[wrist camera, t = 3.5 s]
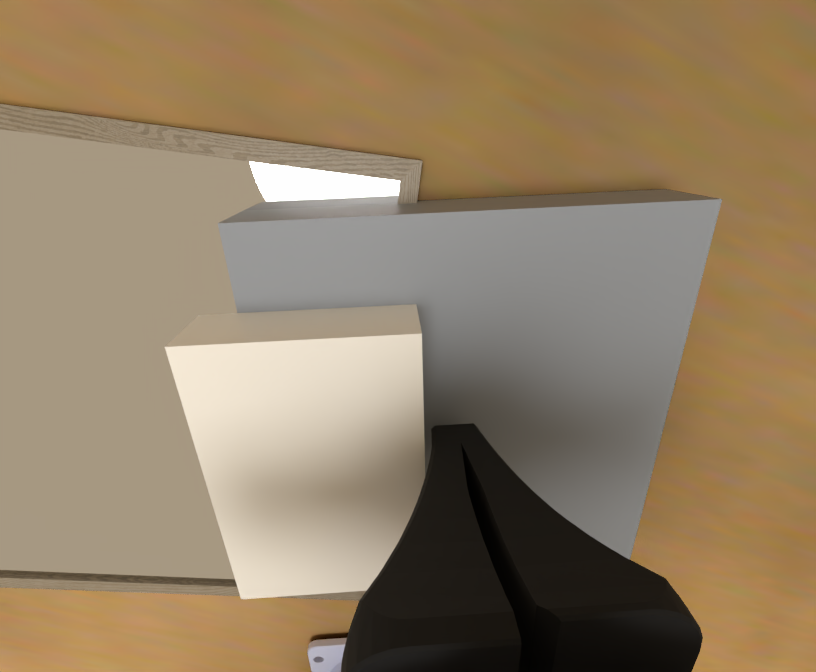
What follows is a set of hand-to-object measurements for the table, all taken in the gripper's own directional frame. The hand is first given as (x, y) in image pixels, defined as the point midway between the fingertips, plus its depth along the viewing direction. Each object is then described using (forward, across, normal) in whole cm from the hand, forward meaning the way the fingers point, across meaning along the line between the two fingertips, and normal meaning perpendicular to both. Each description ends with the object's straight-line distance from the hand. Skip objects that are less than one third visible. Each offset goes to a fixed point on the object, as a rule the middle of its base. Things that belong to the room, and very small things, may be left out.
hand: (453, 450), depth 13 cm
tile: (+1, +4, 0) cm, 4 cm away
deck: (+3, -1, 0) cm, 3 cm away
